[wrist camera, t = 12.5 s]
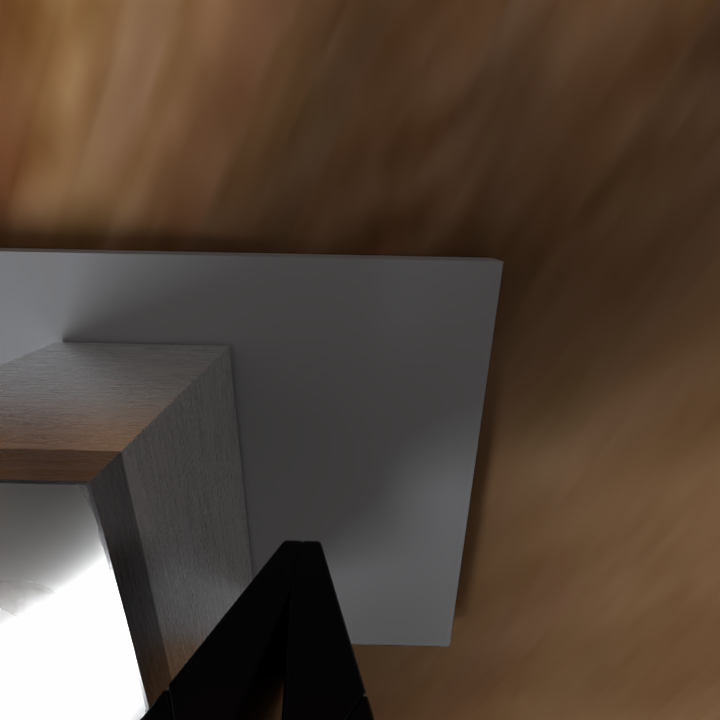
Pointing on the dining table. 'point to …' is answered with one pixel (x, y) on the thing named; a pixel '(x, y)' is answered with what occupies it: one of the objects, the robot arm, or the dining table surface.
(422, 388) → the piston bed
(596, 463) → the dining table surface
